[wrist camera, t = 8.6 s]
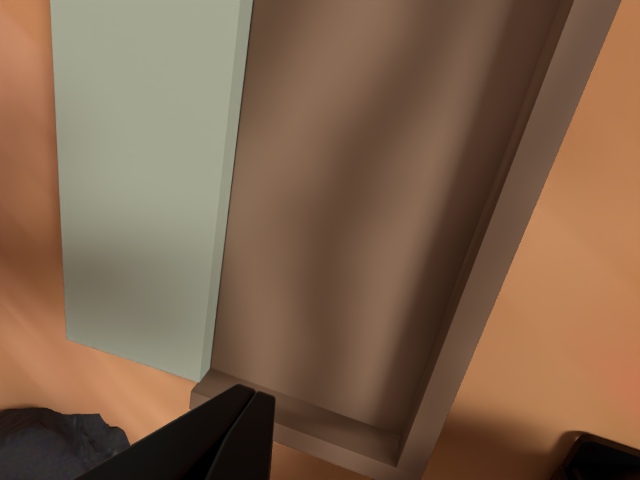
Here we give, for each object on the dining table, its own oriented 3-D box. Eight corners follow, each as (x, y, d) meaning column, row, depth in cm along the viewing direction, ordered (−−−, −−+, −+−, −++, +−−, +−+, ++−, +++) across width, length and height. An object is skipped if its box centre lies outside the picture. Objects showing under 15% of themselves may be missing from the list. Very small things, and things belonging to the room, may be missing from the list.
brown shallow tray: (655, -164, 13) (722, -243, 10) (416, 442, 22) (414, 494, 19) (291, -200, 15) (256, -274, 12) (218, 371, 24) (189, 408, 21)
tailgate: (262, -202, 13) (39, -231, 14) (199, 382, 22) (66, 339, 23) (279, -168, 14) (79, -197, 15) (214, 361, 23) (90, 322, 24)
